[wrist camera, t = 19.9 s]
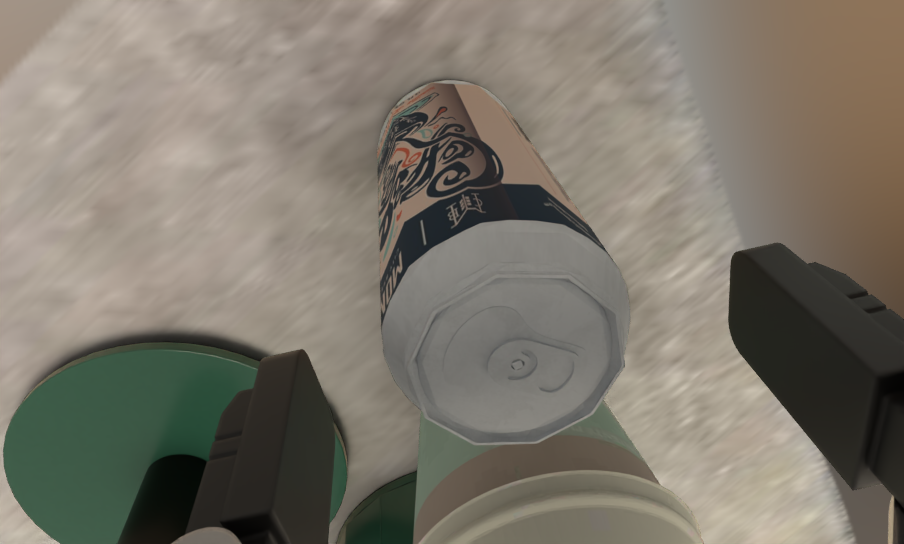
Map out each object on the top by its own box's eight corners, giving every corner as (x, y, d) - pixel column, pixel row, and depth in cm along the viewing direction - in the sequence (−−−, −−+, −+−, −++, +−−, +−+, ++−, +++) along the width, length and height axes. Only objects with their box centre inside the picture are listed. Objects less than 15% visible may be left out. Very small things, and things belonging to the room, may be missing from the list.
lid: (305, 575, 32) (291, 719, 26) (9, 538, 28) (-83, 695, 23) (387, 374, 26) (391, 503, 20) (25, 294, 22) (-94, 424, 17)
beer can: (406, 53, 20) (444, 208, 9) (538, 106, 21) (701, 293, 11) (358, 187, 22) (347, 435, 11) (482, 227, 23) (572, 483, 13)
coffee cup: (514, 456, 29) (592, 753, 19) (353, 391, 26) (341, 701, 16) (632, 325, 26) (804, 594, 16) (465, 233, 23) (541, 492, 13)
